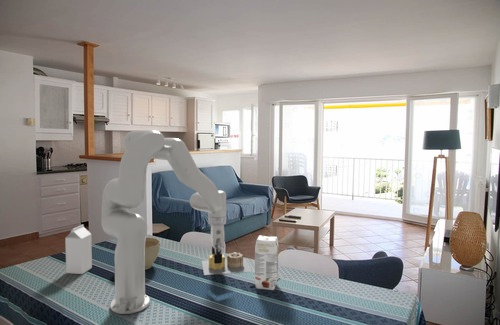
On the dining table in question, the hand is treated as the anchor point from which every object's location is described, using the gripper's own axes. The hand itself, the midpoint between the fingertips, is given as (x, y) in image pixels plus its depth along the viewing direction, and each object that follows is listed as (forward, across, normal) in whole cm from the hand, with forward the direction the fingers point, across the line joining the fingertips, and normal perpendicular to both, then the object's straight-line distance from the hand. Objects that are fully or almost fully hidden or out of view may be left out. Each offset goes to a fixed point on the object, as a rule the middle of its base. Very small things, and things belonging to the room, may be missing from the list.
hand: (216, 259), depth 145 cm
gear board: (+5, 0, -4) cm, 6 cm away
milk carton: (+5, +9, +57) cm, 58 cm away
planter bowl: (+5, +9, +32) cm, 34 cm away
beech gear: (+3, 0, -8) cm, 9 cm away
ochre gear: (+3, 0, 0) cm, 3 cm away
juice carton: (+5, -19, -17) cm, 26 cm away
